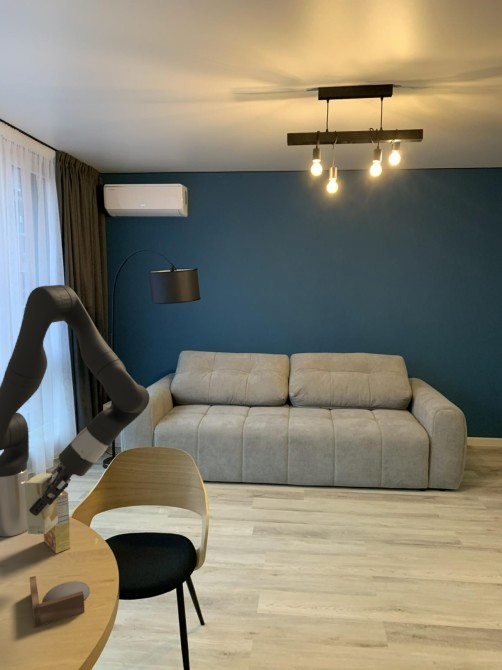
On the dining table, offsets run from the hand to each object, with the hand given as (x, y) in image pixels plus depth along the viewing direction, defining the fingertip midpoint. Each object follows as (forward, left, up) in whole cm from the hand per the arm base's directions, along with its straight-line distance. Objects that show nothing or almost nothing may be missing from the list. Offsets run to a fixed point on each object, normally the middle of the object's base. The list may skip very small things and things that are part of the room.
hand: (34, 505), depth 113 cm
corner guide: (+10, +6, -18) cm, 21 cm away
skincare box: (0, +2, -6) cm, 6 cm away
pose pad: (+8, +7, -18) cm, 21 cm away
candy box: (-15, +1, -18) cm, 24 cm away
